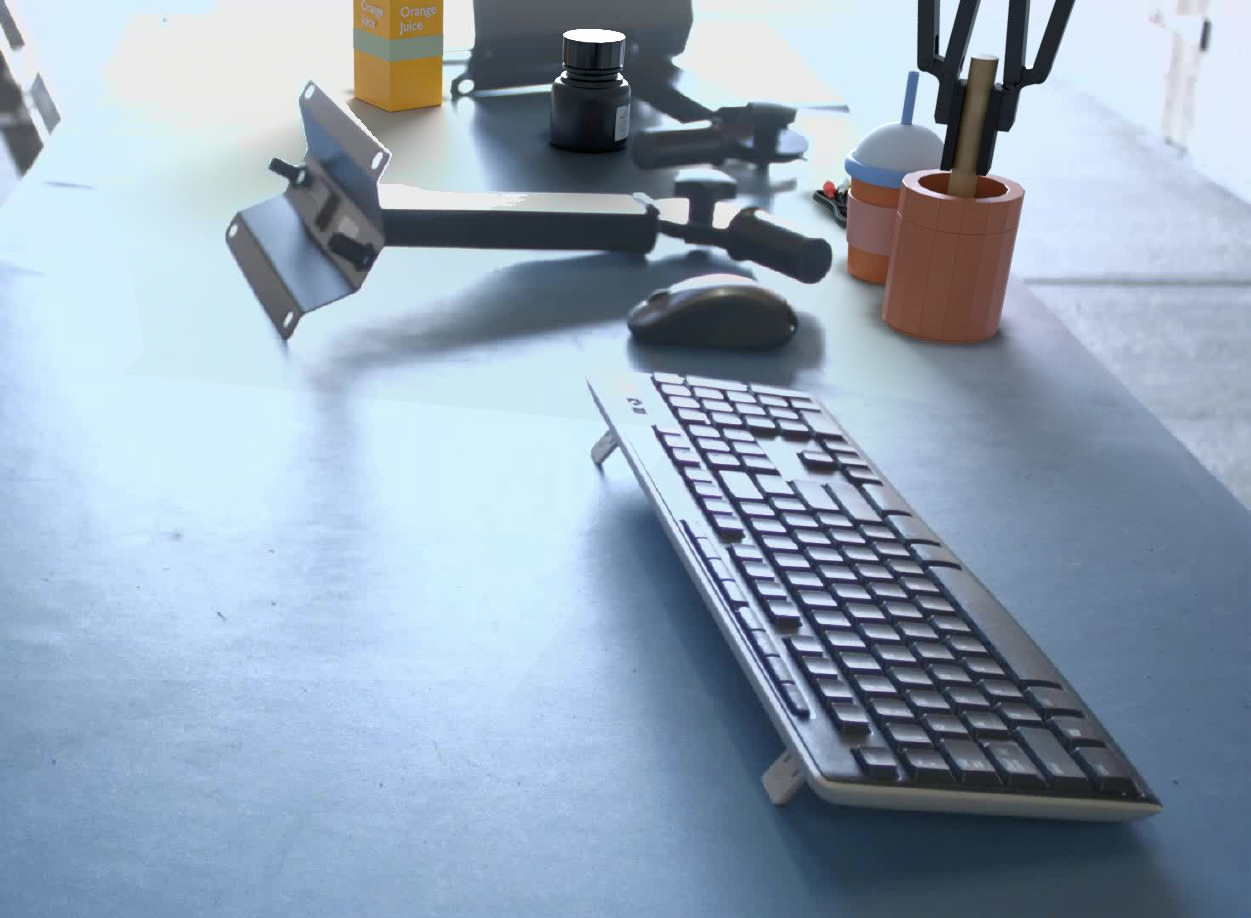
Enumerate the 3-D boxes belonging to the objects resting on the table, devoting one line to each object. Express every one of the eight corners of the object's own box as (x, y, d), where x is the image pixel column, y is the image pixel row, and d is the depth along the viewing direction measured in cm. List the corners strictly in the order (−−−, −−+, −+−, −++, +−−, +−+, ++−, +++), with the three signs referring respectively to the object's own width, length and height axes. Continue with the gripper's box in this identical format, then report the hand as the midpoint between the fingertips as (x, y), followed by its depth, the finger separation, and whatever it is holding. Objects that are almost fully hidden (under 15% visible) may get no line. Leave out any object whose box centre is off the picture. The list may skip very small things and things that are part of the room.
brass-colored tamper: (977, 280, 122) (1020, 54, 114) (969, 297, 119) (1011, 65, 111) (922, 271, 124) (959, 48, 116) (911, 288, 121) (949, 59, 112)
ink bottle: (639, 152, 169) (647, 43, 164) (563, 156, 167) (569, 46, 162) (610, 130, 177) (617, 25, 172) (538, 133, 176) (543, 28, 170)
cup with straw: (815, 261, 137) (841, 60, 129) (912, 259, 138) (944, 59, 130) (850, 298, 129) (881, 86, 121) (953, 295, 130) (990, 84, 122)
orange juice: (405, 89, 194) (406, -75, 185) (443, 104, 187) (445, -66, 178) (352, 97, 190) (350, -71, 181) (388, 112, 184) (388, -61, 175)
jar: (1003, 320, 125) (1031, 178, 120) (987, 358, 118) (1015, 209, 112) (892, 301, 129) (915, 163, 123) (870, 337, 121) (892, 192, 116)
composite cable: (863, 229, 146) (866, 204, 145) (812, 225, 147) (815, 200, 146) (859, 199, 154) (862, 175, 153) (811, 196, 155) (814, 172, 154)
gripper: (1142, -158, 107) (1073, 170, 117) (923, -169, 113) (877, 144, 123) (1134, -149, 101) (1062, 196, 111) (903, -161, 106) (857, 167, 117)
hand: (965, 168), depth 117 cm, fingers closed on brass-colored tamper, 2 cm apart
